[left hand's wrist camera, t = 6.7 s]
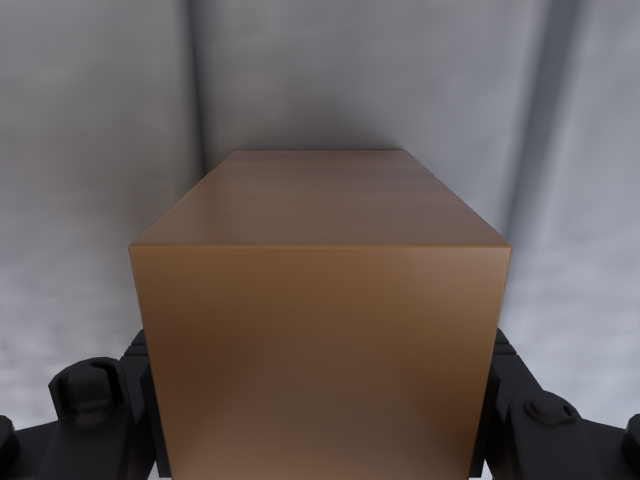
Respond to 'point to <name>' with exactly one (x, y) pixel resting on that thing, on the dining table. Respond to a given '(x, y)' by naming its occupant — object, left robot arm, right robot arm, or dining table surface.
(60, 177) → the dining table surface
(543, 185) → the dining table surface
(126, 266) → the dining table surface
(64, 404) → the left robot arm
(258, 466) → the bar
